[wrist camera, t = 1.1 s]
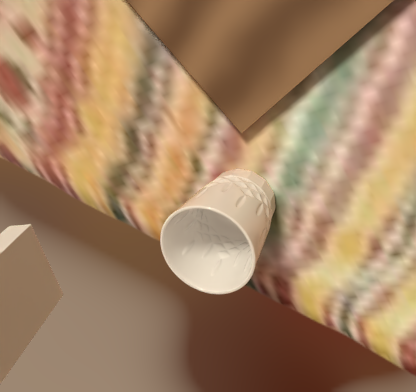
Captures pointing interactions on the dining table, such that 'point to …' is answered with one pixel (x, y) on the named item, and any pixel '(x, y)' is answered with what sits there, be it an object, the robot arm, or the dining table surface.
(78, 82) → the dining table surface
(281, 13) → the walnut board
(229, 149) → the dining table surface
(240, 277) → the white cup
